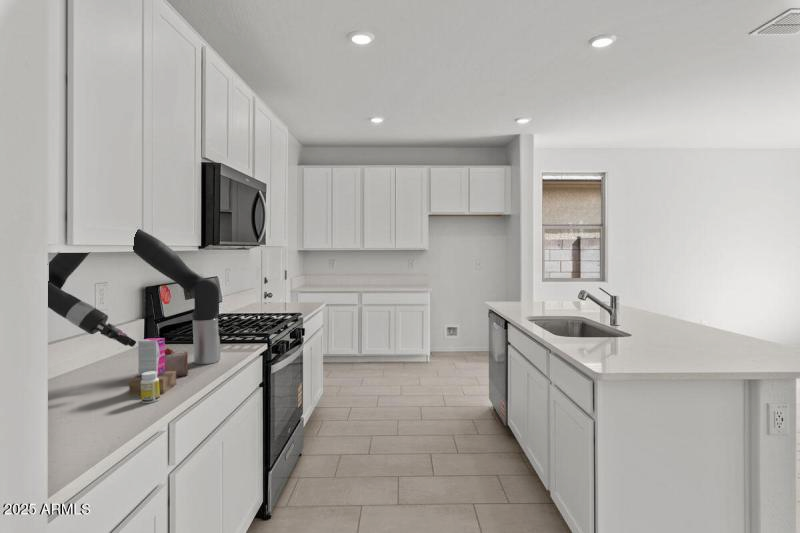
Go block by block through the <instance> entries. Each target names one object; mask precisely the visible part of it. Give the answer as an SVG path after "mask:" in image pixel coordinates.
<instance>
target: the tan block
mask: <svg viewBox="0 0 800 533" xmlns="http://www.w3.org/2000/svg"><path fill="white" fill-rule="evenodd" d="M138 376H139V374H138V375H136V376H135V377H133V378H132V379H129V380H128V385H129V386H128V387H129V396H141V380H143V379H142V377H138ZM157 378H158V379H159V391H160V395H165V394H166V393H167V392H169V391H170V390H171V389H173V388H174V387H175V386H177V385H178V383H177V382H178V381H177V377H176V371H165V373H162V374H160V375H158V376H157Z"/></svg>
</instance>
